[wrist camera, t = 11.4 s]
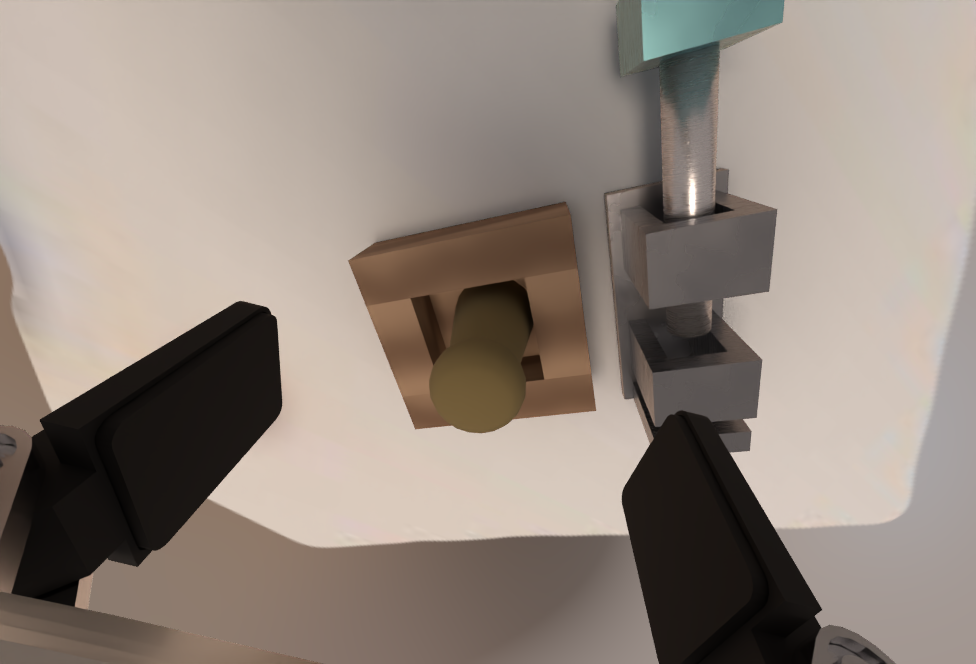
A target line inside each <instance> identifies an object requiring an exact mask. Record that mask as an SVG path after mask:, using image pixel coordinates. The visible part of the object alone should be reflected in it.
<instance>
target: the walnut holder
mask: <svg viewBox="0 0 976 664" xmlns="http://www.w3.org/2000/svg"><path fill="white" fill-rule="evenodd" d="M349 264H350V266H351V269H352V271H353V274H354V276H355V279H356V281H357V284H358V286H359V289H360V291H361V294H362V296H363V299H364V301H365V304H366V306H367V309H368V311H369V314H370V316H371V319H372V321H373V324H374V327H375V329H376V332H377V334H378V337H379V339H380V342H381V344H382V347H383V349H384V352H385V354H386V357H387V359H388V362H389V364H390V367H391V369H392V372H393V374H394V377H395V379H396V382H397V384H398V387H399V389H400V392H401V394H402V397H403V399H404V402H405V404H406V407H407V409H408V412H409V414H410V417H411V419H412V422H413V424H414V427H415V429H422V428H431V427H441V426H451V424H449V423H447V422H446V421H445V420H444V419H443V418H442V417H441V416H440V415H439V414H438V412H437V410H436V408H435V406H434V404H433V402H432V400H431V398H430V390H429V379H430V375H431V372H432V368H433V366H434V364H435V362H436V360H437V359H438V358H439V356H440V355H441V354H442V353H443V351H444V350H446V349H447V348H448V347H450V340H451V334H452V328H453V321H454V315H455V308H456V304H457V301H458V297H459V295H460V294H461V292H462V291H463V290H464V289H465V288H471V287H476V286H482V285H487V284H493V283H499V282H504V281H510V280H514V281H516V282H517V283H518V284H520V285H521V286H523V287H524V288H525V289H526V291H527V292H528V297H529V303H530V308H531V313H532V318H533V323H534V325H533V328H532V331H531V334H530V337H529V340H528V343H527V346H526V349H525V352H524V355H523V358H522V361H521V366H522V368H523V371H524V374H525V377H526V393H525V399H524V402H523V404H522V406H521V408H520V410H519V412H518V414H517V415H516V416H515V417H514V418H513V419H520V418H530V417H540V416H549V415H559V414H569V413H579V412H589V411H596V406H595V399H594V391H593V383H592V376H591V368H590V360H589V353H588V345H587V337H586V330H585V322H584V314H583V307H582V299H581V291H580V284H579V276H578V268H577V261H576V253H575V245H574V238H573V230H572V222H571V215H570V212H569V209H568V207H567V204H566V202H562V203H558V204H553V205H548V206H544V207H539V208H535V209H530V210H525V211H521V212H516V213H511V214H507V215H502V216H497V217H493V218H488V219H484V220H479V221H474V222H470V223H465V224H460V225H456V226H451V227H446V228H442V229H437V230H432V231H428V232H423V233H419V234H414V235H409V236H405V237H400V238H395V239H391V240H386V241H381V242H377V243H374V244H373V245H371V246H370V247H368V248H367V249H365V250H364V251H362V252H361V253H359V254H358V255H356V256H355V257H353V258H352V259H350V260H349Z"/></svg>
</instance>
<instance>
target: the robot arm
mask: <svg viewBox="0 0 976 664" xmlns="http://www.w3.org/2000/svg"><path fill="white" fill-rule="evenodd" d="M281 408H282V391H281V375H280V360H279V344H278V328H277V319H276V317H275V316H273V315H271V312H270V310H269V309H268V308H267V307H264V306H260V305H256V304H252V303H248V302H244V301H239V302H236V303H234V304H233V305H231V306H229V307H228V308H226V309H224V310H223V311H221V312H219V313H218V314H216V315H214V316H212V317H211V318H209V319H207V320H206V321H204V322H202V323H201V324H199V325H197V326H196V327H194V328H192V329H191V330H189V331H187V332H186V333H184V334H182V335H181V336H179V337H177V338H176V339H174V340H172V341H171V342H169V343H167V344H166V345H164V346H162V347H161V348H159V349H157V350H156V351H154V352H152V353H151V354H149V355H147V356H146V357H144V358H142V359H141V360H139V361H137V362H135V363H134V364H132V365H130V366H129V367H127V368H125V369H124V370H122V371H120V372H119V373H117V374H115V375H114V376H112V377H110V378H109V379H107V380H105V381H104V382H102V383H100V384H99V385H97V386H95V387H94V388H92V389H90V390H89V391H87V392H85V393H84V394H82V395H80V396H79V397H77V398H75V399H74V400H72V401H70V402H69V403H67V404H65V405H63V406H62V407H60V408H58V409H57V410H55V411H53V412H52V413H50V414H48V415H47V416H45V417H44V418H42V419H40V422H41V424H42V426H43V428H44V430H42V431H41V432H39V433H38V434H36V435H34V436H33V437H31V436H30V435H29V434H28V433H27V432H26V431H25V430H23V429H20V428H17V427H14V426H4V425H0V664H321V663H318V662H314V661H309V660H305V659H301V658H297V657H292V656H288V655H284V654H279V653H275V652H271V651H267V650H262V649H258V648H254V647H249V646H245V645H240V644H236V643H232V642H228V641H223V640H219V639H215V638H210V637H206V636H202V635H197V634H193V633H189V632H184V631H180V630H175V629H171V628H167V627H163V626H158V625H154V624H149V623H145V622H141V621H137V620H132V619H128V618H124V617H119V616H115V615H110V614H106V613H101V612H96V611H92V610H88V606H89V599H90V593H91V586H92V579H93V572H94V571H95V570H96V569H97V568H98V567H99V566H100V565H101V564H102V563H103V562H104V561H105V560H106V559H107V558H108V560H111V561H115V562H120V563H124V564H128V565H132V566H136V567H138V566H139V565H140V564H141V563H142V561H143V560H144V559H145V558H146V557H147V556H148V555H149V554H150V553H151V551H152V550H158V549H161V548H162V547H163V546H165V545H166V544H167V543H168V542H169V541H170V539H171V538H172V537H173V536H174V535H175V534H176V533H177V532H178V530H179V529H180V528H181V527H182V526H183V525H184V524H185V522H186V521H187V520H188V519H189V518H190V517H191V516H192V514H193V513H194V512H195V511H196V510H197V509H198V508H199V506H200V505H201V504H202V503H203V502H204V501H205V500H206V499H207V497H208V496H209V495H210V494H211V493H212V492H213V491H214V489H215V488H216V487H217V486H218V485H219V484H220V483H221V481H222V480H223V479H224V478H225V477H226V476H227V475H228V473H229V472H230V471H231V470H232V469H233V468H234V467H235V465H236V464H237V463H238V462H239V461H240V460H241V459H242V458H243V456H244V455H245V454H246V453H247V452H248V451H249V450H250V448H251V447H252V446H253V445H254V444H255V443H256V442H257V440H258V439H259V438H260V437H261V436H262V435H263V434H264V432H265V431H266V430H267V429H268V428H269V427H270V426H271V424H272V423H273V422H274V421H275V420H276V419H277V417H278V416H279V414H280V411H281ZM622 505H623V509H624V514H625V518H626V522H627V527H628V531H629V535H630V540H631V544H632V548H633V553H634V557H635V562H636V566H637V570H638V574H639V579H640V583H641V588H642V592H643V596H644V601H645V605H646V609H647V613H648V618H649V623H650V627H651V631H652V636H653V640H654V644H655V648H656V653H657V658H658V661H659V664H895V663H894V661H892V660H891V659H890V658H889V657H888V656H887V655H886V654H884V653H883V652H882V651H881V650H880V649H879V648H877V647H876V646H875V645H874V644H872V643H871V642H869V641H868V640H866V639H865V638H863V637H862V636H860V635H859V634H857V633H855V632H852V631H850V630H848V629H845V628H843V627H839V626H832V625H828V626H826V627H823V628H821V627H820V625H819V623H818V621H817V620H816V618H815V615H816V614H817V613H819V612H820V611H821V610H822V609H821V607H820V605H819V603H818V602H817V600H816V598H815V597H814V595H813V593H812V592H811V590H810V588H809V587H808V585H807V583H806V581H805V580H804V578H803V576H802V575H801V573H800V571H799V570H798V568H797V566H796V564H795V563H794V561H793V559H792V558H791V556H790V554H789V553H788V551H787V549H786V548H785V546H784V544H783V542H782V541H781V539H780V537H779V536H778V534H777V532H776V531H775V529H774V527H773V526H772V524H771V522H770V520H769V519H768V517H767V515H766V514H765V512H764V510H763V509H762V507H761V505H760V504H759V502H758V500H757V498H756V497H755V495H754V493H753V492H752V490H751V488H750V487H749V485H748V483H747V482H746V480H745V478H744V476H743V475H742V473H741V471H740V470H739V468H738V466H737V465H736V463H735V461H734V460H733V458H732V456H731V454H730V453H729V451H728V449H727V448H726V446H725V444H724V443H723V441H722V439H721V438H720V436H719V434H718V432H717V431H716V429H715V427H714V426H713V424H712V422H711V421H710V419H709V418H708V417H706V416H703V415H699V414H695V413H691V412H687V411H683V410H681V411H678V412H676V413H675V415H673V414H670V415H669V416H667V418H666V419H665V421H664V422H663V424H662V426H661V427H660V429H659V431H658V432H657V434H656V436H655V437H654V439H653V441H652V442H651V444H650V446H649V447H648V449H647V450H646V452H645V454H644V455H643V457H642V459H641V460H640V462H639V464H638V465H637V467H636V469H635V470H634V472H633V474H632V475H631V477H630V478H629V480H628V482H627V483H626V485H625V487H624V489H623V492H622Z"/></svg>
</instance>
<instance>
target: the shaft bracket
mask: <svg viewBox="0 0 976 664" xmlns="http://www.w3.org/2000/svg"><path fill="white" fill-rule="evenodd" d="M728 175H729V169H723V168H720V169H716V187H715V214H714V215H709V216H703V217H698V218H693V219H688V220H683V221H678V222H672V223H667V224H665V223H664V215H663V181H660V182H655V183H651V184H646V185H641V186H637V187H632V188H627V189H623V190H618V191H613V192H609V193H604V197H605V208H606V219H607V230H608V241H609V252H610V263H611V274H612V285H613V296H614V307H615V318H616V329H617V340H618V351H619V362H620V373H621V384H622V393H623V396H624V399H632V398H634V401H635V403H636V406H637V409H638V412H639V415H640V417H641V420H642V423H643V426H644V429H645V431H646V434H647V437H648V440H649V442H650V444H651V442H652V441H653V439H654V437H655V436H656V434H657V432H658V431H659V429H660V427H661V426H662V424H663V422H664V421H665V419H666V418H667V416H669V415H670V414H673V415H675V413H676V412H678V411H681V410H683V411H687V412H691V413H695V414H699V415H703V416H706V417H708V418H709V419H710V421H711V422H712V424H713V426H714V427H715V429H716V431H717V432H718V434H719V436H720V438H721V439H722V441H723V443H724V444H725V446H726V448H727V449H728V451H729V452H742V451H750V441H751V430H750V429H749V427H748V426H747V424H746V423H745V422H744V420H743V419H749V418H757V408H758V398H759V388H760V378H761V368H762V359H761V358H760V357H759V356H758V355H757V354H756V353H755V352H754V351H753V350H752V349H751V348H750V347H749V346H748V345H747V344H746V343H745V342H744V341H743V340H742V339H741V338H740V337H739V336H738V335H737V334H736V333H735V332H734V331H733V330H732V329H731V328H730V327H729V326H728V325H727V324H726V323H725V322H724V321H723V320H722V313H723V298H729V297H735V296H742V295H749V294H755V293H762V292H769V287H770V277H771V266H772V256H773V246H774V236H775V226H776V216H777V209H775V208H771V207H768V206H765V205H762V204H759V203H756V202H752V201H749V200H746V199H743V198H740V197H737V196H734V195H730V194H728ZM709 300H712V320H711V331H710V332H709V333H707V334H706V335H703V336H699V337H693V338H685V337H678V336H675V335H672V334H670V333H669V332H668V331H667V327H666V307H669V306H676V305H682V304H689V303H696V302H702V301H709Z"/></svg>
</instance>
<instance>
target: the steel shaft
mask: <svg viewBox="0 0 976 664" xmlns="http://www.w3.org/2000/svg"><path fill="white" fill-rule="evenodd" d="M783 10H784V0H619V1H618V3H617V5H616V17H617V32H618V47H619V63H620V77H623V76H627V75H630V74H634V73H638V72H641V71H645V70H649V69H652V68H656V67H660V104H661V141H662V178H663V215H664V223H665V224H667V223H672V222H678V221H683V220H688V219H693V218H698V217H703V216H709V215H714V214H715V187H716V153H717V120H718V86H719V53H720V50H722V49H725V48H728V47H730V46H732V45H734V44H736V43H738V42H741V41H743V40H745V39H747V38H749V37H752V36H754V35H756V34H758V33H760V32H763V31H765V30H767V29H769V28H771V27H773V26H776V25H778V24H780V23H782V21H783ZM711 320H712V300H709V301H702V302H696V303H689V304H682V305H676V306H669V307H666V327H667V331H668V332H669V333H670V334H672V335H675V336H678V337H685V338H693V337H699V336H703V335H706V334H707V333H709V332H710V331H711Z"/></svg>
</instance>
